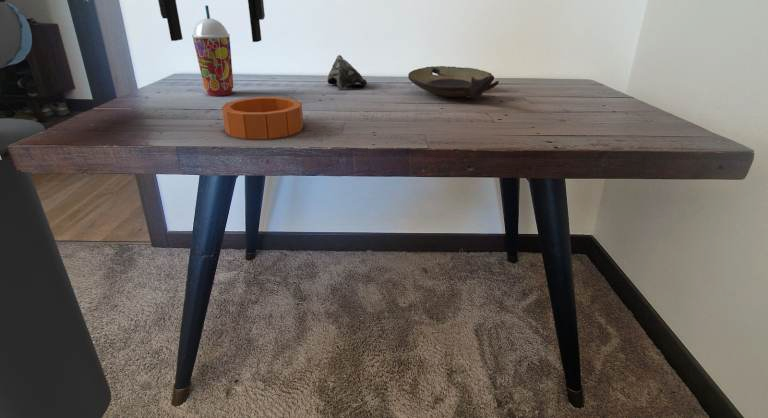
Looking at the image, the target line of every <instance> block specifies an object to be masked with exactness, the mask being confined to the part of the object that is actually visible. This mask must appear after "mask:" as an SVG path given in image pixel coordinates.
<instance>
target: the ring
mask: <svg viewBox="0 0 768 418" xmlns="http://www.w3.org/2000/svg"><path fill="white" fill-rule="evenodd" d="M221 113H222V118H223V126H224V131H225V133H227V134H228V135H229V136H230V137H232V138H233V137H234V138H239V139H243V140H273V139H279V138H287V137H289V136H290V137H291V136H292V135H295V134H297V133H300V132H302V129H303V127H304V117H303V116H304V115H303V103H302V102H301V101H300V100H297V99H295V98H288V97H281V96H257V97H256V96H255V97H248V98H239V99H236V100H232V101H229V102H228V101H227V102H225V104H224V105H223V106H222V107H221Z"/></svg>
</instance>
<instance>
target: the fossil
mask: <svg viewBox="0 0 768 418" xmlns="http://www.w3.org/2000/svg"><path fill="white" fill-rule="evenodd" d="M326 82H327V84H328V85H336V86H337V88H338V90H342V89H344V88H346V87H348V86H354V85H356V84H359V85H361V86H362V87H365V86H366V85H367V84H368V81H367V79H365V78H363V76H362V74H360V72H359V71H358V70H357V69H356V68H354V67H353V65H352V64H351V63H349V62H348V61H347V60H346V59H344V57H343V56H342V55H341V54H338V55H337V56H336V57H335V61H334V63H333V64H332V66H331V69H330V71H329V73H328V75H327V81H326Z"/></svg>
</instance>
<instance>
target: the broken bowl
mask: <svg viewBox="0 0 768 418" xmlns="http://www.w3.org/2000/svg"><path fill="white" fill-rule="evenodd" d="M407 78H408V80H409V81H410V82H411V83H412V84H414V85H415V86H417V87H418V88H420V89H422V90H424V91H426V92H428V93H430V94H433V95H436V96H439V97H444V98H451V99H452V98H453V99H458V98H459V99H460V98H468V97H469V98H471V99H477V98H479V97H481V95H483V94H484V93H485V92H488V91H489V90H492V89H493V88H496V87H497V86H498V85H499V84H500V82H499V81H500V80H496V81H494V80H495V76H494V75H493V74H492V73H491V72H488V71H485V70H482V69H478V68H474V67H461V66H460V67H459V66H457V67H456V66H447V65H446V66H445V65H437V66H436V65H435V66H425V67H419V68H417V69H413V70H411V71H410V72H409V73H407ZM493 81H494V82H493Z"/></svg>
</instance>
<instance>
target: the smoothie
mask: <svg viewBox="0 0 768 418" xmlns="http://www.w3.org/2000/svg"><path fill="white" fill-rule="evenodd" d="M204 7H205V14H206V18H204V19H201V20H200V21H198V22H197V23H196V25H195V27H194V29H193V33H192V34H191V37H192V41H193V46H194V49H195V54H196V58H197V63H198V67H199V71H200V75H201V80H202V84H203V88H204V90H205V91H206V93H207V95H209V96H211V97H225V96H229V95H231V94H232V93H233V89H234V76H233V75H234V74H233V64H232V63H233V62H232V48H231V34H229V32H228V30H227V28H226V27H225V26H224V25H223V24H222V23H221V22H220V21H218V20H217V19H214V18H211V15H210V9H209V5H205V6H204Z"/></svg>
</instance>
